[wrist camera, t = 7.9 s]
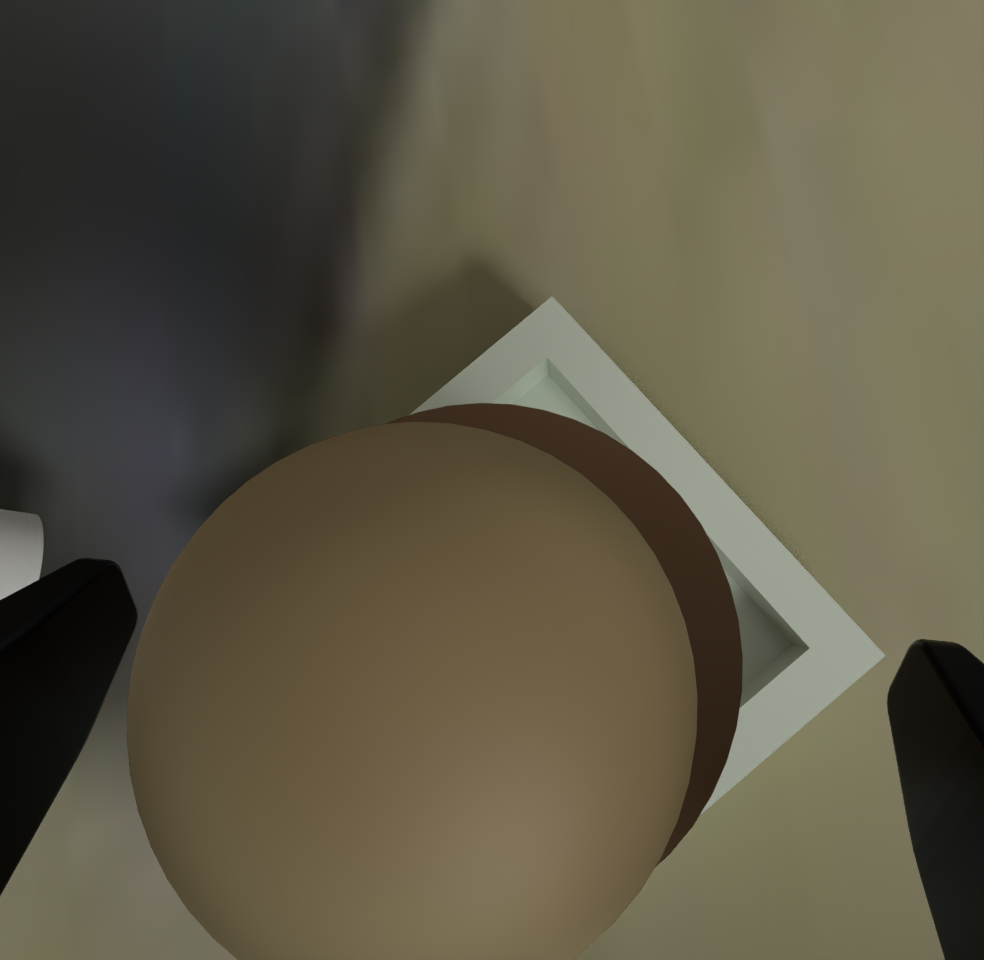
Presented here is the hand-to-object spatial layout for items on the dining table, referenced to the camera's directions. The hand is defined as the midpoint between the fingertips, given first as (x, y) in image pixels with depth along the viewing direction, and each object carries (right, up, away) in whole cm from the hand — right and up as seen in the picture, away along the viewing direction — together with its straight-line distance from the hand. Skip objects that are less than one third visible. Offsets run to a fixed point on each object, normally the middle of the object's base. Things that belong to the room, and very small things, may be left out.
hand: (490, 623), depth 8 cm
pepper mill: (+1, -2, +8) cm, 8 cm away
